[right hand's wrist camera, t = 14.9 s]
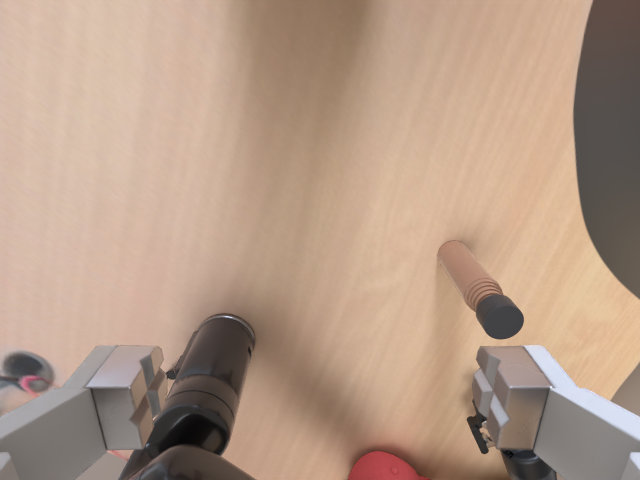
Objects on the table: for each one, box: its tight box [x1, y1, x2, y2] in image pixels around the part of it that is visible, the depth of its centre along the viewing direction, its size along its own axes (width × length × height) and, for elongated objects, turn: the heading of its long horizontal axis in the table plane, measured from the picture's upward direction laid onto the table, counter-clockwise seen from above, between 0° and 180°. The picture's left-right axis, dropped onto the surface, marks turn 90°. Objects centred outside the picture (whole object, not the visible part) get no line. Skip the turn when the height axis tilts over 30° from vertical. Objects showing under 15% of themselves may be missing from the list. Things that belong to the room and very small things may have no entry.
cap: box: [476, 294, 524, 339], centre depth 46 cm, size 4×4×3 cm
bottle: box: [438, 241, 503, 312], centre depth 53 cm, size 4×4×18 cm
